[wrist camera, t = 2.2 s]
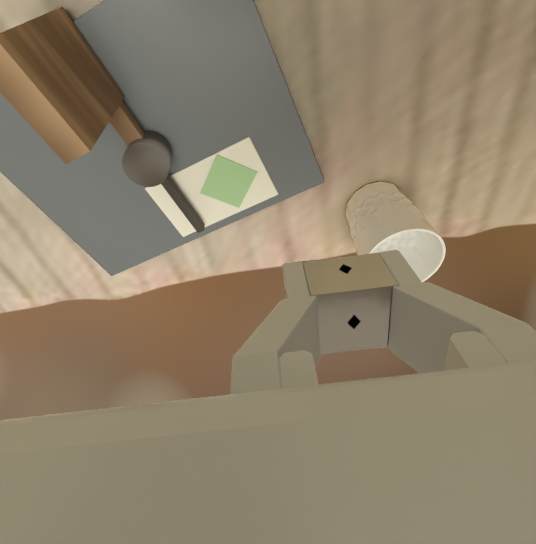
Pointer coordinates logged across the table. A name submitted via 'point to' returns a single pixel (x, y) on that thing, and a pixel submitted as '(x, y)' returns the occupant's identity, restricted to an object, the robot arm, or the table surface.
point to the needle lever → (79, 101)
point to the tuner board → (171, 130)
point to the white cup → (393, 228)
